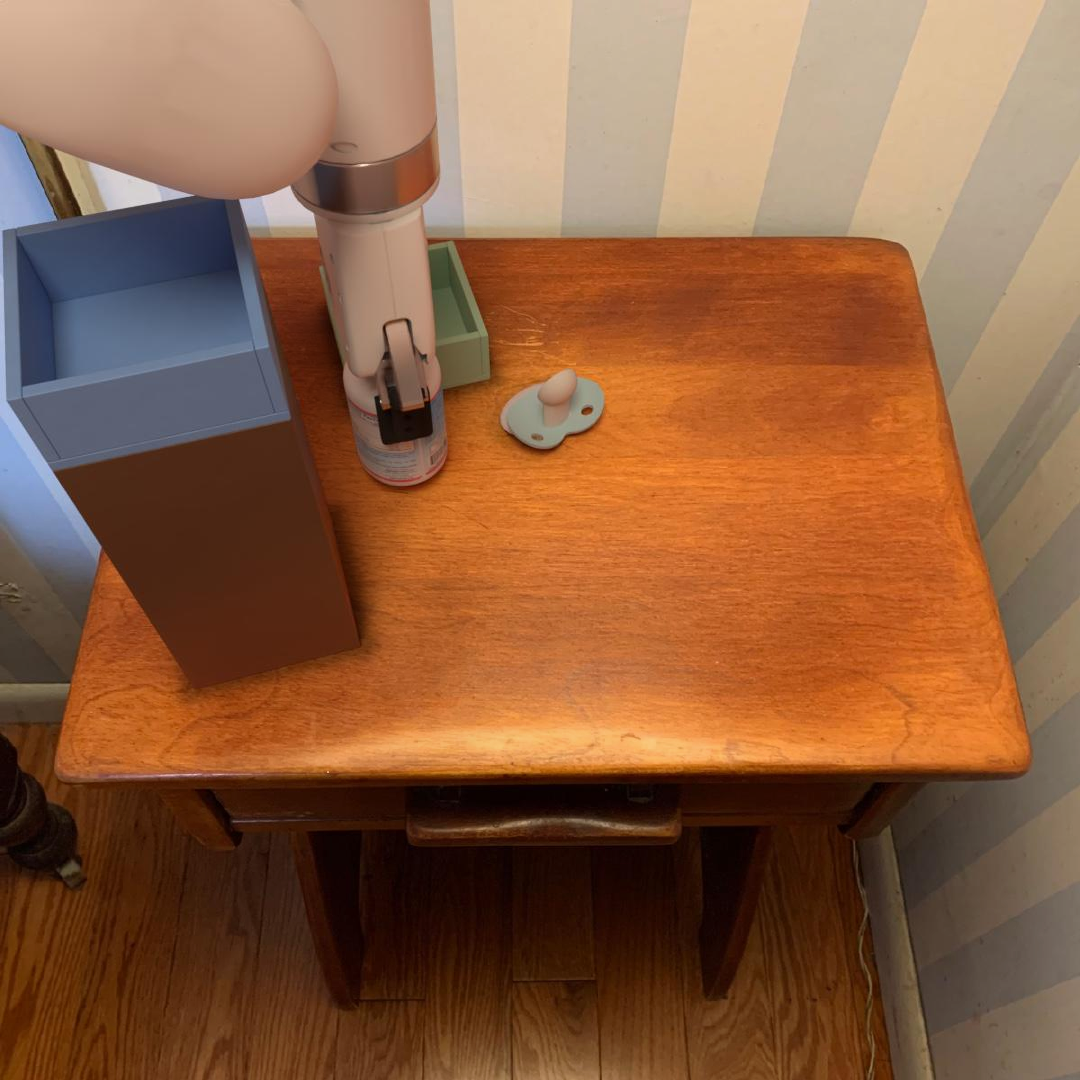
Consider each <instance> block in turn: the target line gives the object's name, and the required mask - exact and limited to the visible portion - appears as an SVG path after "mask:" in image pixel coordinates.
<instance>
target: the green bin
mask: <svg viewBox="0 0 1080 1080" xmlns="http://www.w3.org/2000/svg"><path fill="white" fill-rule="evenodd" d="M427 250H428V258H429V268H430V278H431V288H432V299H433V311H434V324H435V356H436V358H437V360H438V362H439V365H440V371H441V379H442V390H446V389H451V388H456V387H461V386H466V385H469V384H474V383H479V382H483V381H488V380H491V363H490V342H489V341H490V340H489V333H488V330H487V328H486V325H485V322H484V320H483V317H482V314H481V311H480V310H479V306H478V303H477V301H476V298H475V295H474V293H473V290H472V287H471V285H470V282H469V279H468V277H467V274H466V272H465V269H464V266H463V264H462V260H461V257H460V255H459V252H458V250H457V247H456V244H455V242H454V240H449V241H448V240H447V241H441V242H438V243H437V242H436V243H432V244H428V246H427ZM318 270H319V275H320V279H321V284H322V288H323V292H324V293H323V294H324V297H325V302H326V306H327V311H328V314H329V319H330V323H331V326H332V328H333V334H334V337H335V341H336V345H337V349H338V353H339V356H340V360H341V364H342V368H343V369H344V366H345V363H346V358H345V354H344V351H343V347H342V344H341V340H340V336H339V333H338V329H337V325H336V321H335V318H334V314H333V310H332V306H331V302H330V298H329V294H328V290H327V286H326V281H325V276H324V271H323V265H319V266H318Z"/></svg>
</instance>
